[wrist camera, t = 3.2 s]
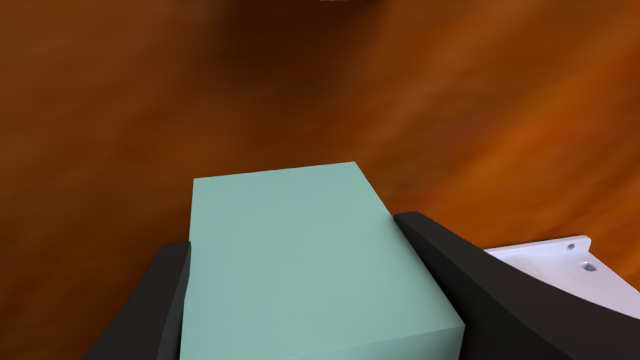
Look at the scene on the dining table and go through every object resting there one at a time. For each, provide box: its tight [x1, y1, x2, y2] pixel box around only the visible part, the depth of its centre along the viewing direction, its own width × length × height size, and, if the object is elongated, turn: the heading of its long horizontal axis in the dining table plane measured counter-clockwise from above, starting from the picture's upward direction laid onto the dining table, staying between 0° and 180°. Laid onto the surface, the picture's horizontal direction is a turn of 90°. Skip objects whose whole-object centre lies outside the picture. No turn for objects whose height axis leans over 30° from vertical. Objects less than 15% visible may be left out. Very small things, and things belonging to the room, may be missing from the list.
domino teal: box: [180, 162, 465, 360], centre depth 11 cm, size 5×2×7 cm, turn 90°
